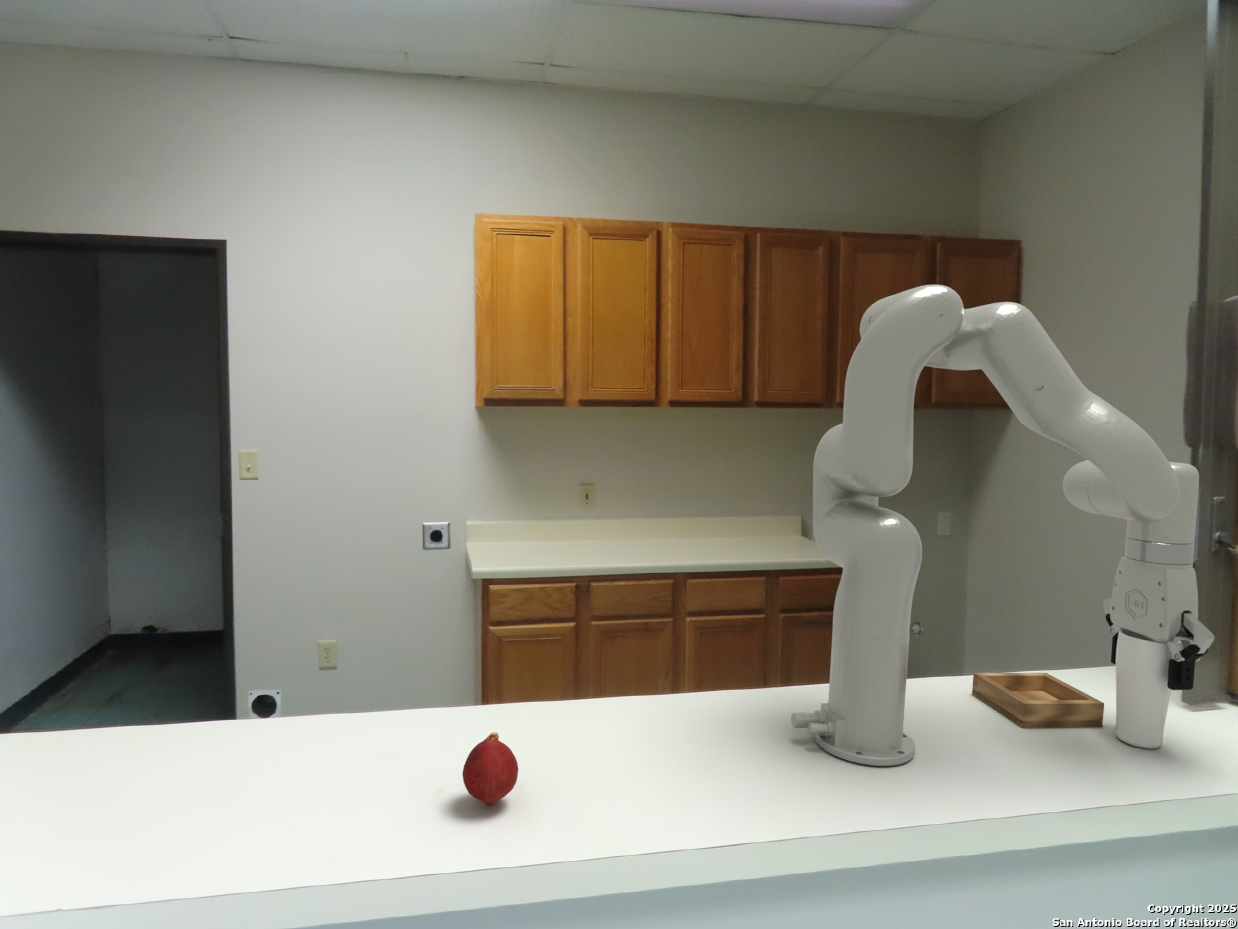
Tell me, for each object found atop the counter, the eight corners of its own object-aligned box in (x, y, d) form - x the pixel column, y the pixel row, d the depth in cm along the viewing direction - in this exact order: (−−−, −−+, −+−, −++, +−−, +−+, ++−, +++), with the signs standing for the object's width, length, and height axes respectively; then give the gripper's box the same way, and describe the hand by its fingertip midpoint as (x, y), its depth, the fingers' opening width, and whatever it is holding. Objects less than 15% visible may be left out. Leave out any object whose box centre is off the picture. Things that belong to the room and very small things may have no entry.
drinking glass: (1149, 733, 107) (1158, 629, 105) (1179, 754, 100) (1190, 644, 99) (1098, 729, 107) (1107, 626, 106) (1125, 750, 100) (1135, 641, 99)
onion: (468, 823, 77) (470, 748, 77) (457, 796, 82) (458, 725, 82) (523, 813, 79) (525, 740, 79) (509, 787, 85) (510, 718, 84)
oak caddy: (1022, 727, 107) (1023, 703, 106) (972, 694, 119) (973, 673, 119) (1102, 727, 108) (1104, 703, 108) (1044, 694, 120) (1046, 672, 120)
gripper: (1086, 541, 110) (1079, 655, 111) (1188, 566, 93) (1178, 701, 94) (1133, 541, 111) (1125, 654, 112) (1243, 566, 93) (1232, 699, 95)
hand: (1149, 675), depth 103 cm, fingers open, 9 cm apart
